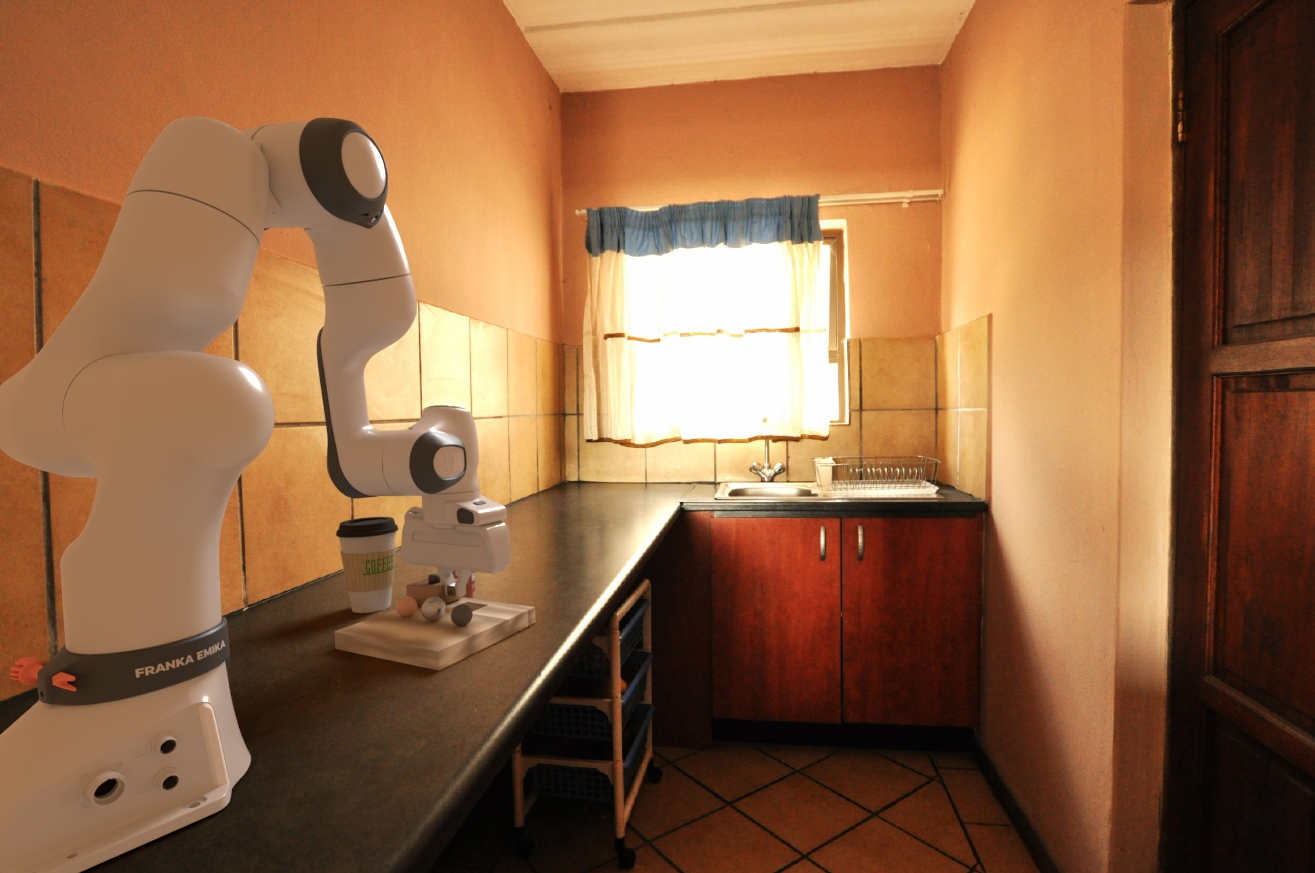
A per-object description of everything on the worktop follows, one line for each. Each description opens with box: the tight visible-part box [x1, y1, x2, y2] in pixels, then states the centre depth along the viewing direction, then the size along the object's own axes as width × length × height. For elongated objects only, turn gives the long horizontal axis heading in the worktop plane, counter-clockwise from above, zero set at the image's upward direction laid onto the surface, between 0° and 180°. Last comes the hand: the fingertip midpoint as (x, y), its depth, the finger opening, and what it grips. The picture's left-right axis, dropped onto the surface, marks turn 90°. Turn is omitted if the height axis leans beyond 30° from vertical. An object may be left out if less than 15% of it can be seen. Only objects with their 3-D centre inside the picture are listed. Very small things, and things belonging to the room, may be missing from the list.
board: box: [334, 597, 537, 671], centre depth 98 cm, size 20×20×2 cm
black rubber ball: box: [451, 604, 473, 626], centre depth 94 cm, size 3×3×3 cm
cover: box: [406, 573, 463, 606], centre depth 106 cm, size 6×6×4 cm
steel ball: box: [421, 597, 446, 621], centre depth 97 cm, size 4×4×4 cm
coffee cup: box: [335, 516, 399, 614], centre depth 113 cm, size 10×10×15 cm
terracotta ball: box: [395, 595, 417, 617], centre depth 99 cm, size 3×3×3 cm
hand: (455, 595), depth 104 cm, fingers closed
